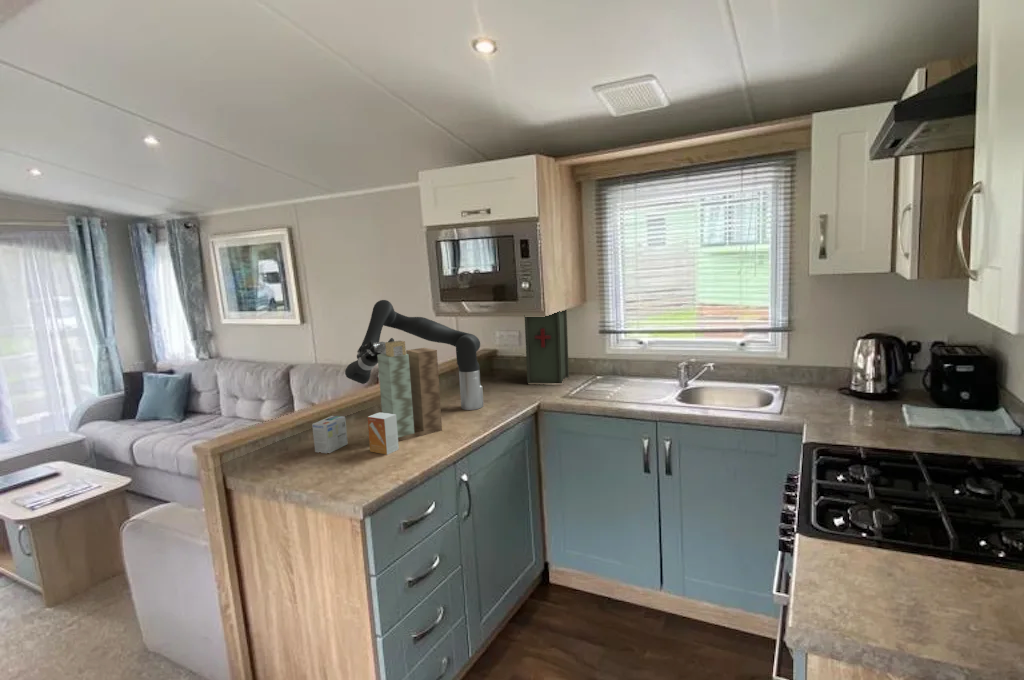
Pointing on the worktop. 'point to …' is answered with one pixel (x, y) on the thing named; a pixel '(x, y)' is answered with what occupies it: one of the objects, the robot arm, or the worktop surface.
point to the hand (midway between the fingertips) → (382, 341)
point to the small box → (383, 433)
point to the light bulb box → (330, 434)
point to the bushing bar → (390, 348)
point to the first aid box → (547, 348)
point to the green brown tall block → (411, 391)
